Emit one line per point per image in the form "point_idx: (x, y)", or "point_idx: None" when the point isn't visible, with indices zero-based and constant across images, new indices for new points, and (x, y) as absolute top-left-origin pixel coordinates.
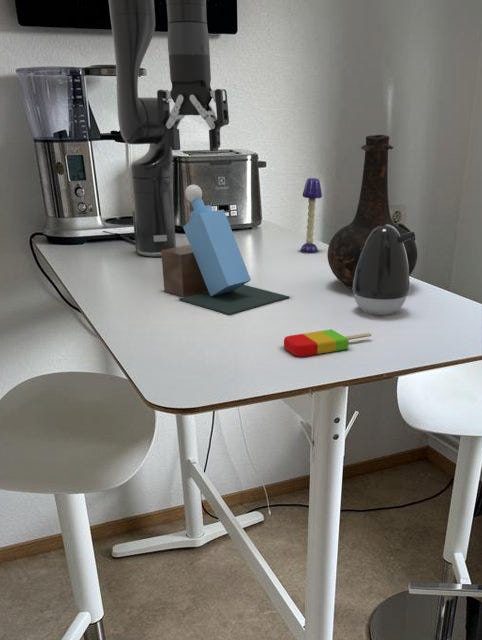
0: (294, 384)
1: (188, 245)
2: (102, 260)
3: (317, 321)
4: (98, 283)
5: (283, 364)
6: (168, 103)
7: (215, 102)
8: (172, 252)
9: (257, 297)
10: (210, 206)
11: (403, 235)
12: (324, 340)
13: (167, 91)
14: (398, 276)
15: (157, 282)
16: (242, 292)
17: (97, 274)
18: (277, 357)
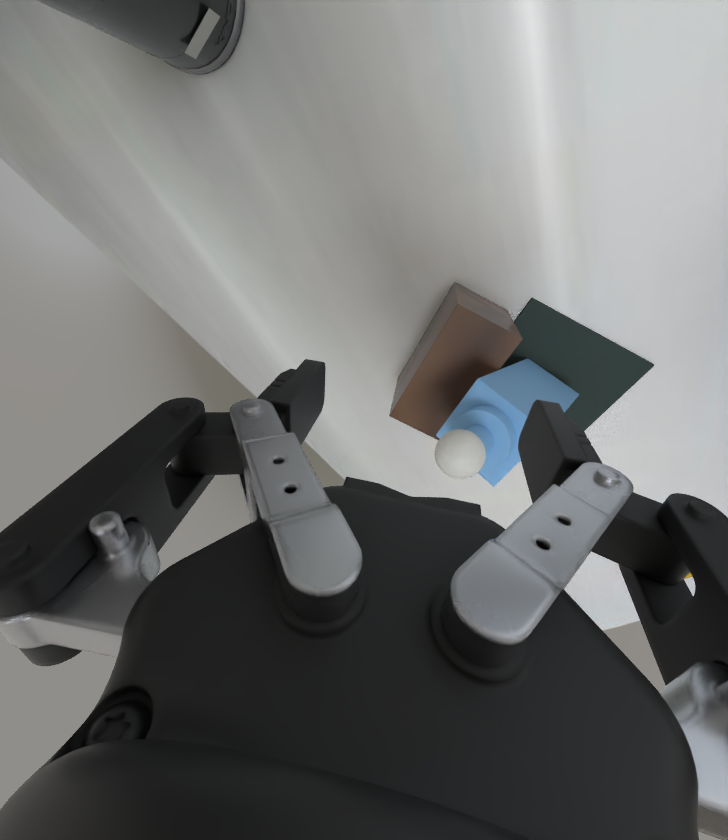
0: (636, 618)
1: (427, 362)
2: (138, 172)
3: (694, 472)
4: (269, 361)
5: (626, 588)
6: (126, 505)
7: (671, 685)
8: (420, 429)
9: (583, 386)
10: (510, 447)
11: None
12: (691, 574)
13: (96, 646)
14: None
15: (358, 326)
16: (549, 362)
17: (224, 303)
18: (619, 575)
